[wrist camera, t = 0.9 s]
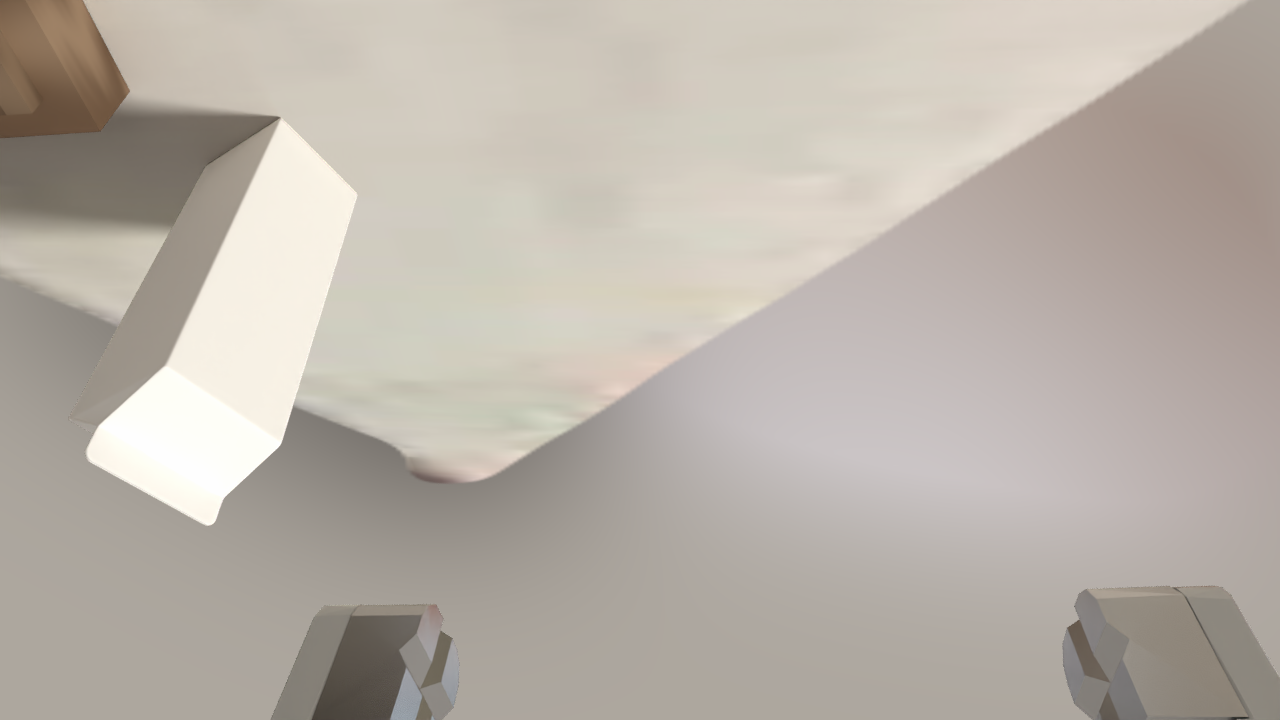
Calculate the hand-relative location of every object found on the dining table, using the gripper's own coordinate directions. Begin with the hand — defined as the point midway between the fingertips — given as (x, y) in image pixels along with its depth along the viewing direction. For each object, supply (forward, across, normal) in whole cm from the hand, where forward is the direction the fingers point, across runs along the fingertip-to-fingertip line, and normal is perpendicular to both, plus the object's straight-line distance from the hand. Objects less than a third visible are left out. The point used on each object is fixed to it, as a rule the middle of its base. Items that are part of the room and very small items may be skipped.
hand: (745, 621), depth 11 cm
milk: (+37, +26, +10) cm, 46 cm away
